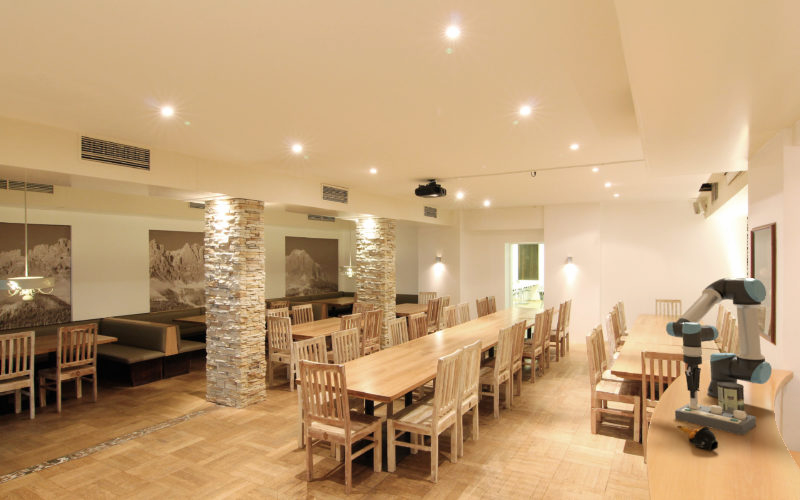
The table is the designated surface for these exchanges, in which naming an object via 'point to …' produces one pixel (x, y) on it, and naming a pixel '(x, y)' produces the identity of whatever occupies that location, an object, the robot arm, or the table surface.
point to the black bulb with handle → (701, 437)
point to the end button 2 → (740, 414)
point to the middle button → (716, 409)
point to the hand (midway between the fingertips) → (694, 404)
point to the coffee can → (731, 396)
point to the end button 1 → (694, 406)
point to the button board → (716, 419)
